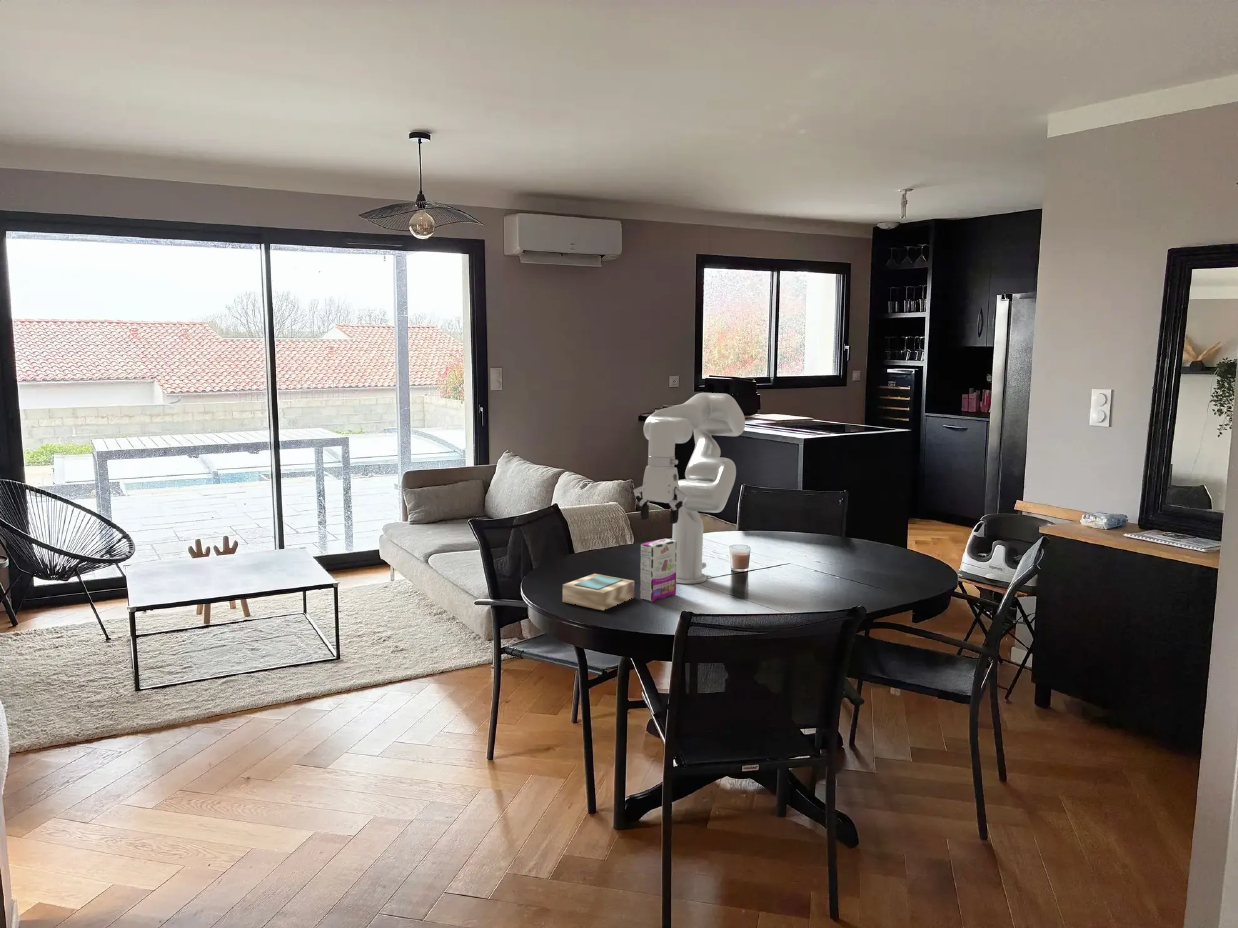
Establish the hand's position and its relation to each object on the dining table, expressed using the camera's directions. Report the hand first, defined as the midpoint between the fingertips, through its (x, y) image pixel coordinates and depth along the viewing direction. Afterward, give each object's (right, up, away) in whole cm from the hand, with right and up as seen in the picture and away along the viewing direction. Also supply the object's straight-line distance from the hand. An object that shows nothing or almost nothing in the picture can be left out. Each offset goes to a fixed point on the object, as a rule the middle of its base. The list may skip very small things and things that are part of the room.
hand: (659, 521), depth 266 cm
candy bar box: (0, -23, +3) cm, 23 cm away
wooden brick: (-17, -23, -1) cm, 29 cm away
